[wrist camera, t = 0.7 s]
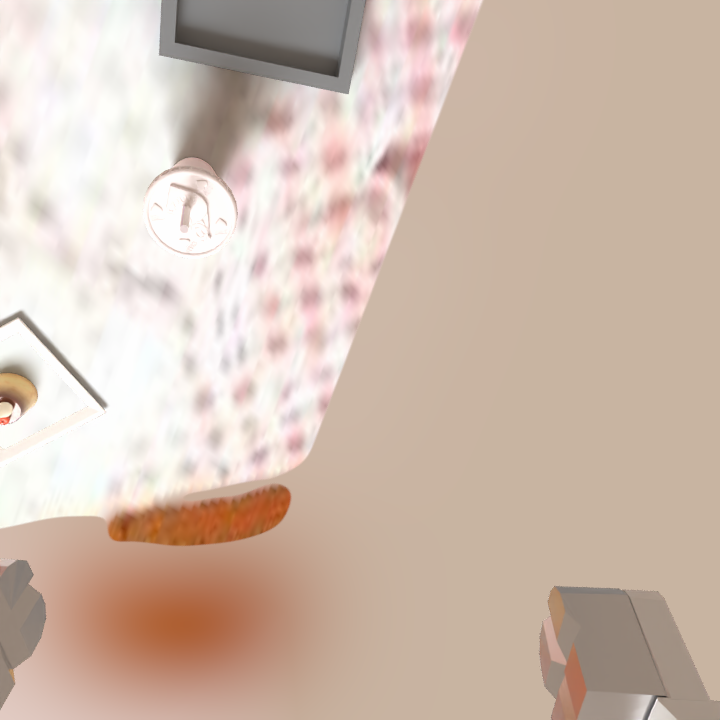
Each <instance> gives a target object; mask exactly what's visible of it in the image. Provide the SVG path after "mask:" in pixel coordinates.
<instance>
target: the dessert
mask: <svg viewBox="0 0 720 720" xmlns="http://www.w3.org/2000/svg"><path fill="white" fill-rule="evenodd" d="M16 333H19V334H20V335H21V336H22V337H23V338H24V339H25V340H26V341H27V342H28V343H29V344H30V345H31V346H32V347H33V348H34V350H35V351H36V352H37V353H38V354H39V355H40V356H41V357H42V358H43V359H44V360H45V361H46V362H47V363H48V364H49V365H50V366H51V367H52V369H53V370H54V371H55V372H56V373H57V374H58V375H59V376H60V377H61V378H62V379H63V380H64V381H65V382H66V383H67V384H68V385H69V387H70V388H71V389H72V390H73V391H74V392H75V393H76V394H77V395H78V396H79V397H80V398H81V399H82V400H83V401H84V402H85V403H86V404H87V407H85V408H83V409H82V410H80V411H78V412H76V413H74V414H72V415H70V416H68V417H66V418H64V419H62V420H60V421H58V422H56V423H55V424H53V425H51V426H49V427H47V428H45V429H43V430H41V431H39V432H37V433H35V434H33V435H31V436H29V437H27V438H26V439H24V440H22V441H20V442H18V443H16V444H14V445H12V446H10V447H8V448H6V449H3V448H2V447H0V467H2V466H4V465H6V464H8V463H10V462H12V461H14V460H16V459H18V458H20V457H21V456H23V455H25V454H27V453H29V452H31V451H33V450H35V449H37V448H39V447H41V446H43V445H45V444H47V443H49V442H51V441H52V440H54V439H56V438H58V437H60V436H62V435H64V434H66V433H68V432H70V431H72V430H74V429H76V428H78V427H80V426H82V425H83V424H85V423H87V422H89V421H91V420H93V419H95V418H97V417H99V416H101V415H103V414H105V413H106V411H105V410H104V409H103V408H102V407H101V405H100V404H99V403H98V402H97V401H96V400H95V399H94V398H93V397H92V396H91V395H90V394H89V392H88V391H87V390H86V389H85V388H84V387H83V386H82V385H81V384H80V383H79V382H78V381H77V380H76V378H75V377H74V376H73V375H72V374H71V373H70V372H69V371H68V370H67V369H66V368H65V367H64V365H63V364H62V363H61V362H60V361H59V360H58V359H57V358H56V357H55V356H54V355H53V354H52V352H51V351H50V350H49V349H48V348H47V347H46V346H45V345H44V344H43V343H42V342H41V341H40V340H39V338H38V337H37V336H36V335H35V334H34V333H33V332H32V331H31V330H30V329H29V328H28V327H27V325H26V324H25V323H24V322H23V321H22V320H21V319H20V318H16V319H14V320H12V321H10V322H8V323H6V324H4V325H2V326H1V327H0V341H2V340H4V339H6V338H8V337H10V336H12V335H14V334H16ZM37 398H38V394H37V390H36V388H35V386H34V385H33V384H32V383H31V382H30V381H29V380H28V379H26V378H25V377H23V376H20V375H17V374H13V373H1V374H0V424H1V425H5V424H10V423H13V422H15V421H17V420H18V419H19V418H20V417H21V416H23V415H24V414H25V413H26V412H27V411H28V410H30V409H31V408H32V407H33V406H34V405H35V403H36V401H37Z"/></svg>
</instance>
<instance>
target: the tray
mask: <svg viewBox="0 0 720 720" xmlns="http://www.w3.org/2000/svg"><path fill="white" fill-rule="evenodd" d="M365 2H366V0H162V3H161V26H160V49H159V55H161V56H166V57H171V58H176V59H181V60H185V61H190V62H195V63H200V64H205V65H210V66H214V67H219V68H224V69H229V70H234V71H239V72H243V73H248V74H253V75H258V76H263V77H268V78H272V79H277V80H282V81H287V82H292V83H297V84H301V85H306V86H311V87H316V88H321V89H326V90H330V91H335V92H340V93H345V94H349V89H350V83H351V78H352V72H353V67H354V62H355V56H356V51H357V45H358V40H359V34H360V29H361V23H362V18H363V12H364V7H365Z"/></svg>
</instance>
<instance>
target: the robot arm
mask: <svg viewBox="0 0 720 720" xmlns="http://www.w3.org/2000/svg"><path fill="white" fill-rule="evenodd" d="M32 577H33V573H32V570H31V568H30V566H29V564H28V562H27V561H24V560H12V559H0V709H1V708H2V706H3V704H4V702H5V701H6V699H7V697H8V695H9V694H10V692H11V690H12V688H13V687H14V685H15V678H14V671H13V669H14V668H15V667H17V666H18V665H20V664H21V663H22V662H23V661H25V660H26V659H28V658H29V657H30V656H31V655H32V653H33V651H34V650H35V647H36V646H37V644H38V642H39V640H40V639H41V635H42V632H43V628H44V623H45V620H46V609H45V602H44V600H43V597H42V595H41V594H40V593H39V592H38V591H37V590H35V589H34V588H33V587H32V586H30V585H29V584H28V583H29V582H30V580H31V578H32ZM548 607H549V610H550V615H551V616H549V617H548V618H547V619H545V620H544V621H543V622H542V627H541V633H540V651H539V652H540V653H539V655H540V663H541V671H542V676H543V681H544V686H545V687H546V689H547V690H548V691H549V692H550V693H551V694H552V695H553V696H554V698H555V699H556V702H555V705H554V708H553V712H552V715H551V719H552V720H720V701H712V700H710V698H709V696H708V694H707V692H706V689H705V687H704V685H703V683H702V681H701V678H700V676H699V674H698V672H697V670H696V667H695V665H694V663H693V661H692V659H691V656H690V654H689V652H688V650H687V647H686V645H685V643H684V641H683V639H682V637H681V634H680V632H679V630H678V627H677V625H676V623H675V621H674V619H673V617H672V614H671V612H670V610H669V608H668V605H667V603H666V601H665V599H664V597H663V596H662V595H661V594H660V593H659V592H658V591H641V590H620V589H615V588H614V589H613V588H588V587H562V586H561V587H560V586H554V587H553V588H552V590H551V591H550V595H549V598H548Z"/></svg>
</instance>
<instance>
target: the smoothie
mask: <svg viewBox="0 0 720 720" xmlns="http://www.w3.org/2000/svg"><path fill="white" fill-rule="evenodd" d="M237 215H238V212H237V205H236V201H235V198H234V196H233V194H232V191H231V190H230V188H229V187H228V186H227V185H226V183H225V182H224V181H223V180H222V179H221V178H219V177H218V176H217V175H216V173H215V171H214V170H213V168H212V167H211V166H210V165H209V164H208V163H207V162H206V161H204V160H202V159H199V158H195V157H189V158H185V159H182V160H180V161H179V162H178V163H176V164H175V165H174V166H173V167H172V168H171V169H168V170H166V171H164V172H163V173H161V174H160V175H159V176H157V177H156V178H155V179H154V180H153V181H152V183H151V184H150V186H149V187H148V189H147V192H146V194H145V197H144V205H143V216H144V221H145V225H146V227H147V230H148V231H149V233H150V235H151V236H152V238H153V239H154V240H155V241H156V242H157V243H158V244H159V245H160V246H161V247H162V248H164V249H165V250H167V251H168V252H170V253H172V254H174V255H177V256H180V257H185V258H202V257H207V256H210V255H212V254H214V253H216V252H218V251H219V250H221V249H222V248H223V247H224V246H225V245H226V244H227V243H228V242H229V241H230V239H231V238H232V236H233V234H234V231H235V228H236V224H237Z"/></svg>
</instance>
